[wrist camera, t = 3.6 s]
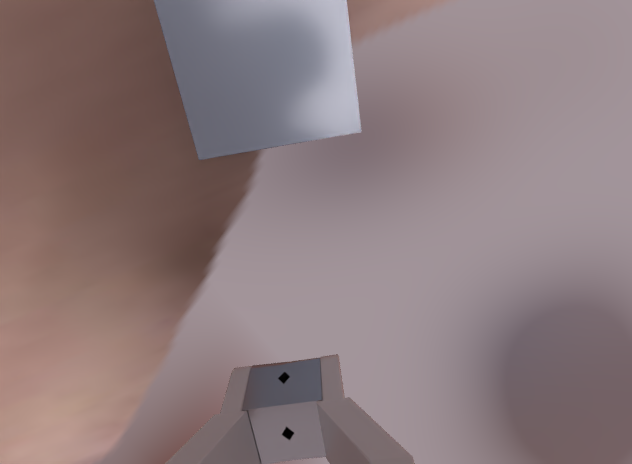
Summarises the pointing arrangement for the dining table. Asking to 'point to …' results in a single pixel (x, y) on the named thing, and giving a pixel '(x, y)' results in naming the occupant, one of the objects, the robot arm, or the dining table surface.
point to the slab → (261, 71)
